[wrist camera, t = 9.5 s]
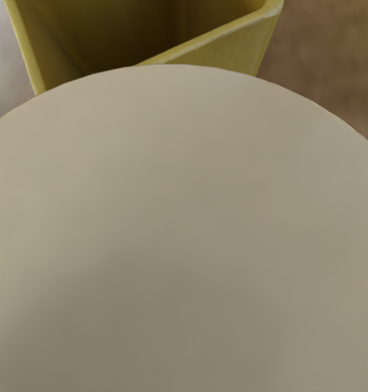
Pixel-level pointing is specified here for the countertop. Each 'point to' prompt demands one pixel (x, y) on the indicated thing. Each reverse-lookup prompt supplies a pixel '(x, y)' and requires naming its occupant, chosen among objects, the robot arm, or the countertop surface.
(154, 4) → the flower pot
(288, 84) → the countertop surface
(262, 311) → the tall white cylinder
